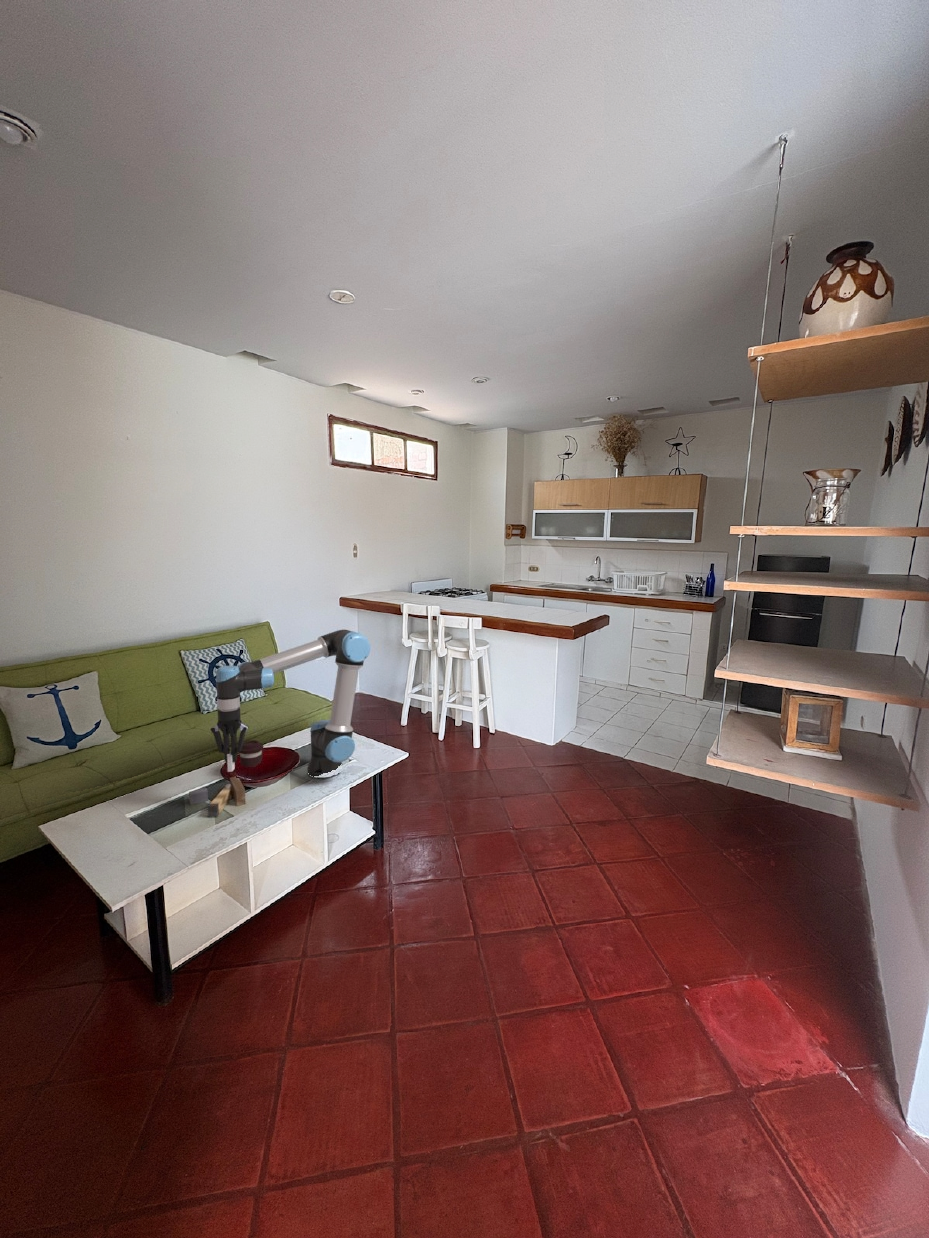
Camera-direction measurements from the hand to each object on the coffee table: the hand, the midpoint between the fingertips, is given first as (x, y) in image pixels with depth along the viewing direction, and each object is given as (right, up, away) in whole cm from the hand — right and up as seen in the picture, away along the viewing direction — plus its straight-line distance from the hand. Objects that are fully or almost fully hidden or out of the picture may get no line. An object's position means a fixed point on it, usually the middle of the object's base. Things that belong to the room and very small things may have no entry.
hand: (231, 770), depth 182 cm
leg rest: (-17, -15, +8) cm, 24 cm away
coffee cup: (-6, -12, +31) cm, 34 cm away
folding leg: (-6, -15, +4) cm, 17 cm away
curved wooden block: (-3, -15, +11) cm, 19 cm away
